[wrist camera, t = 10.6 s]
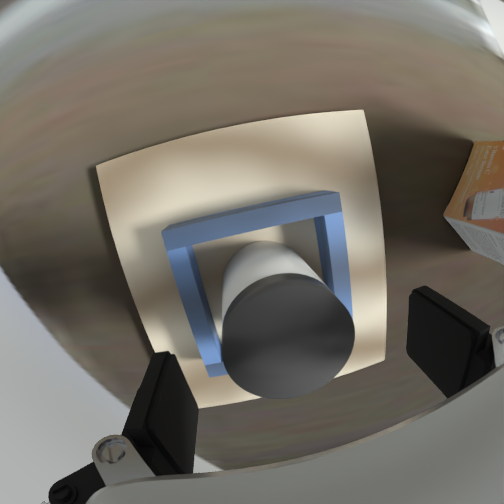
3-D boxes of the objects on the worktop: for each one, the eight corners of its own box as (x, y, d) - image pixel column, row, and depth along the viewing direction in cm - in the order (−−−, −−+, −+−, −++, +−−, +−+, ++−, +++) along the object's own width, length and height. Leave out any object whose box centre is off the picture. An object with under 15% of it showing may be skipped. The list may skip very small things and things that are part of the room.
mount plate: (379, 353, 20) (396, 374, 17) (184, 401, 20) (181, 428, 17) (356, 112, 15) (379, 102, 12) (102, 166, 15) (80, 164, 12)
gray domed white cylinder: (311, 309, 17) (355, 379, 10) (233, 328, 17) (240, 409, 10) (300, 232, 16) (351, 271, 9) (213, 251, 16) (205, 307, 9)
